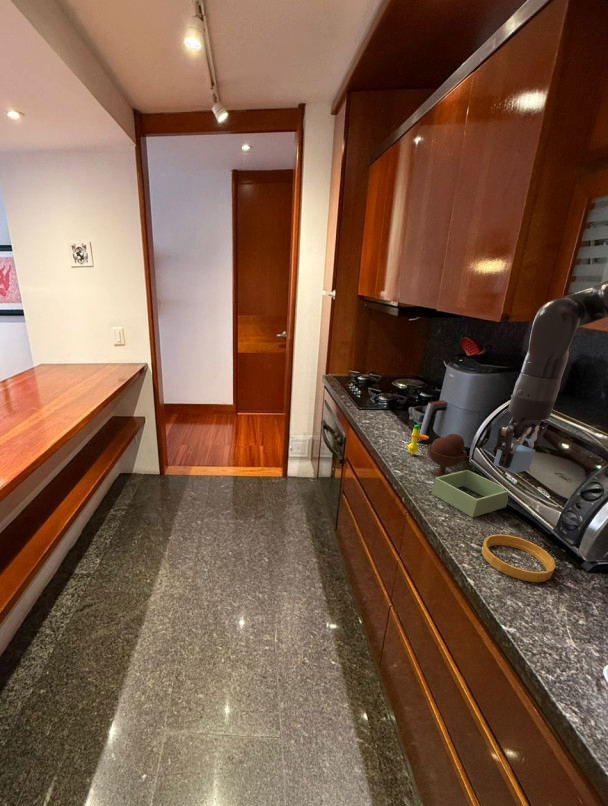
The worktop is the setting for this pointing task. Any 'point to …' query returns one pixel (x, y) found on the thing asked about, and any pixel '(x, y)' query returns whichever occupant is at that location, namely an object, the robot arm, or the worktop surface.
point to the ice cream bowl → (447, 452)
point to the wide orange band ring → (524, 546)
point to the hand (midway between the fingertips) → (511, 464)
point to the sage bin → (471, 506)
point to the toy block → (518, 459)
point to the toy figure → (415, 439)
